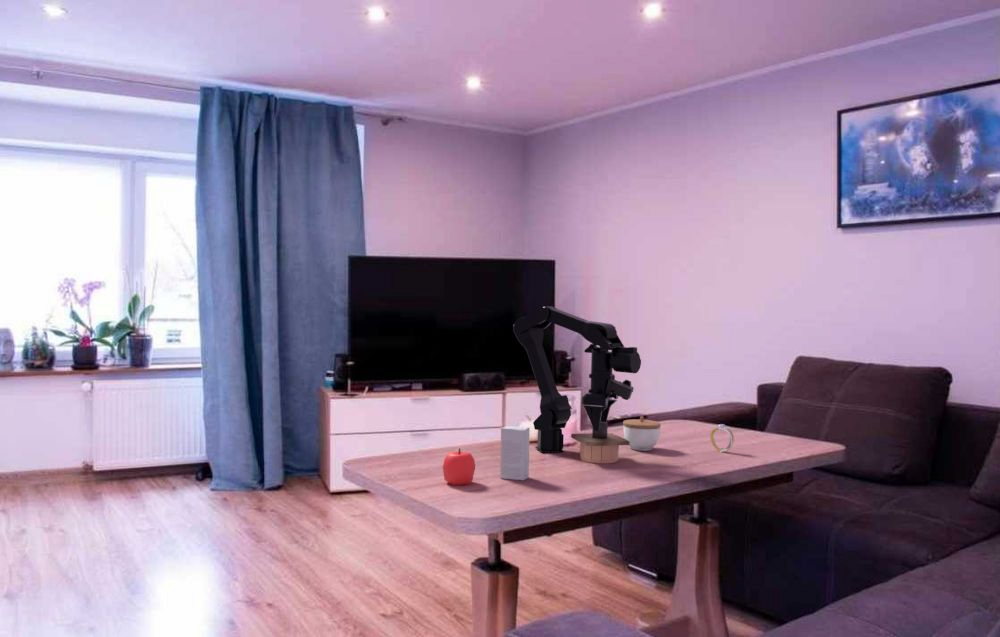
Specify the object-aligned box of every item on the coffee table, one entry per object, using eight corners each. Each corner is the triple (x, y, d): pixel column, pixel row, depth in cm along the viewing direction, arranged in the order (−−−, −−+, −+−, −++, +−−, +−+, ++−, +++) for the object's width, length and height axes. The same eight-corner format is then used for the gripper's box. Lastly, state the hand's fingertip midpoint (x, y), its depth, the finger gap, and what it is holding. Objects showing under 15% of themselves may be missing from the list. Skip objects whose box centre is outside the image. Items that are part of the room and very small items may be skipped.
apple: (448, 488, 165) (448, 452, 165) (436, 480, 172) (437, 445, 172) (481, 485, 168) (482, 450, 168) (468, 477, 175) (469, 444, 175)
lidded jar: (663, 453, 211) (664, 420, 210) (625, 451, 211) (626, 419, 211) (655, 445, 221) (656, 414, 221) (620, 444, 221) (620, 413, 221)
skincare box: (529, 477, 177) (530, 427, 177) (523, 481, 173) (525, 430, 173) (505, 474, 179) (506, 425, 179) (499, 478, 175) (500, 428, 175)
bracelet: (708, 450, 216) (709, 422, 216) (715, 449, 218) (716, 422, 218) (727, 454, 211) (728, 426, 210) (735, 453, 212) (735, 425, 212)
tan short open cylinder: (588, 464, 193) (588, 445, 193) (575, 456, 203) (575, 437, 203) (623, 463, 196) (624, 444, 195) (609, 455, 205) (610, 437, 205)
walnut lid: (586, 445, 192) (586, 426, 192) (571, 437, 204) (571, 419, 203) (629, 445, 195) (629, 426, 195) (611, 436, 206) (612, 418, 206)
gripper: (625, 375, 187) (623, 436, 188) (637, 369, 205) (635, 425, 205) (582, 372, 191) (580, 432, 191) (597, 367, 208) (596, 422, 209)
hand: (599, 428), depth 199 cm, fingers open, 9 cm apart
